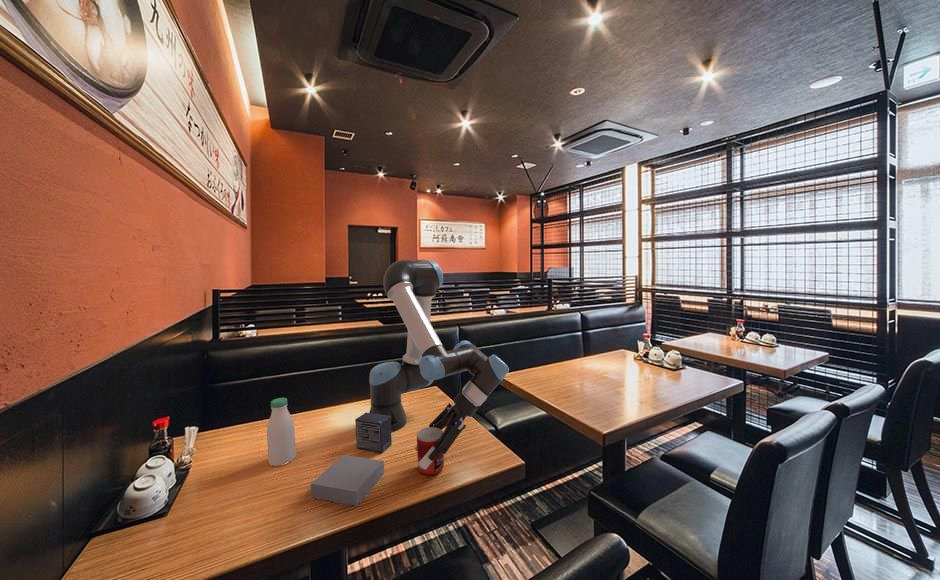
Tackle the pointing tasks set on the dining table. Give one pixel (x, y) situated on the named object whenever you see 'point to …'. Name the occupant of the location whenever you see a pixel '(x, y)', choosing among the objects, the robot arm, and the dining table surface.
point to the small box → (373, 432)
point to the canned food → (424, 444)
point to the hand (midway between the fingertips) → (419, 458)
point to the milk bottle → (280, 434)
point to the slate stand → (348, 480)
